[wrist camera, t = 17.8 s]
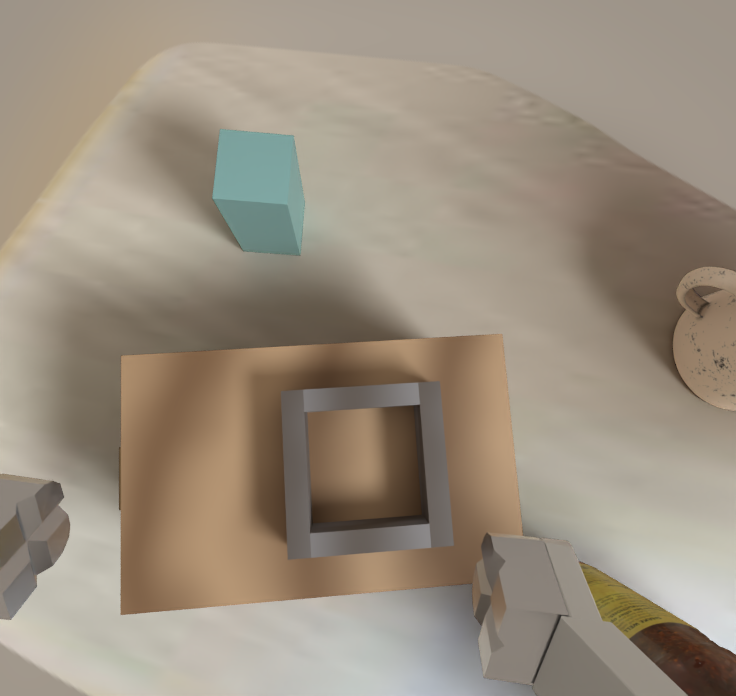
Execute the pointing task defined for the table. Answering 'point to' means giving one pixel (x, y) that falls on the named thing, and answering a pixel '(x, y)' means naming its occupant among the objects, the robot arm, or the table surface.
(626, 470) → the table surface
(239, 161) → the teal rectangular block
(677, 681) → the sauce bottle
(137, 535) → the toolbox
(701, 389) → the teacup with lid
